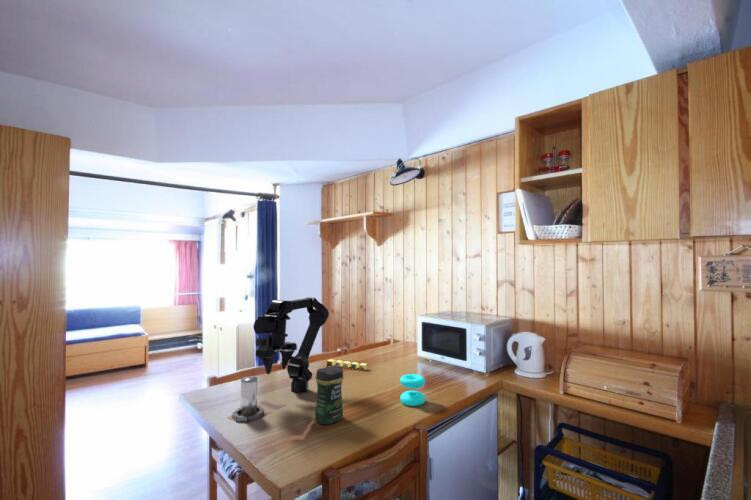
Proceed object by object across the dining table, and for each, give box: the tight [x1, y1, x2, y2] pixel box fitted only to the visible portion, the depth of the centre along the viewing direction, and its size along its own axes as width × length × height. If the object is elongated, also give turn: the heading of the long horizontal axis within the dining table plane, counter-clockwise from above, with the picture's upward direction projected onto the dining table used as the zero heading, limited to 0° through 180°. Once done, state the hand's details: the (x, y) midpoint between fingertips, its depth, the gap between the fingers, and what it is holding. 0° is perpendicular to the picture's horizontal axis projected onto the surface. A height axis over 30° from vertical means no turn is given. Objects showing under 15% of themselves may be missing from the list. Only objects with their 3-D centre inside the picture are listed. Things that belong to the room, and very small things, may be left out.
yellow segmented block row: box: [326, 359, 368, 371], centre depth 183 cm, size 32×32×3 cm
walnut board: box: [226, 399, 288, 426], centre depth 127 cm, size 19×11×1 cm, turn 151°
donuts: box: [399, 373, 426, 407], centre depth 138 cm, size 10×10×10 cm
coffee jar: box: [314, 365, 344, 426], centre depth 123 cm, size 10×8×19 cm
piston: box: [240, 375, 258, 416], centre depth 124 cm, size 6×6×13 cm
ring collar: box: [231, 406, 264, 423], centre depth 123 cm, size 10×10×2 cm
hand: (276, 371), depth 137 cm, fingers open, 9 cm apart
